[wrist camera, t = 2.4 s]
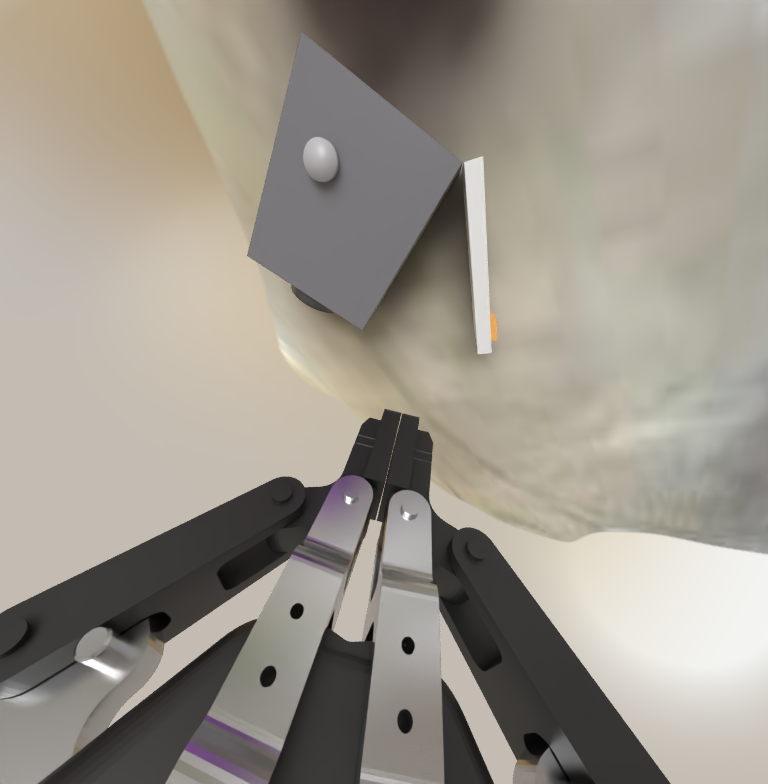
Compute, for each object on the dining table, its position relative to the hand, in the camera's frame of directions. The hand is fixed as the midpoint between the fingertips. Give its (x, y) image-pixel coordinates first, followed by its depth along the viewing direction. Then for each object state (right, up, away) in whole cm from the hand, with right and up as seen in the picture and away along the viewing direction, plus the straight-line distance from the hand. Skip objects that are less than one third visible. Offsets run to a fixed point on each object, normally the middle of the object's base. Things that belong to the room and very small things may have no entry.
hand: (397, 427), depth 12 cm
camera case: (-2, +16, +11) cm, 20 cm away
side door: (+7, +12, +11) cm, 18 cm away
